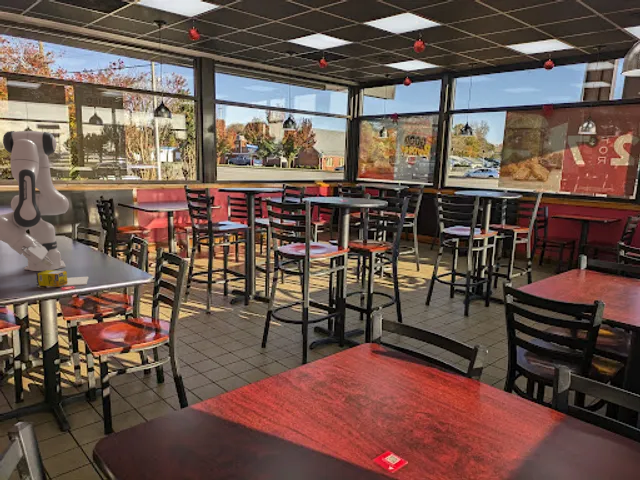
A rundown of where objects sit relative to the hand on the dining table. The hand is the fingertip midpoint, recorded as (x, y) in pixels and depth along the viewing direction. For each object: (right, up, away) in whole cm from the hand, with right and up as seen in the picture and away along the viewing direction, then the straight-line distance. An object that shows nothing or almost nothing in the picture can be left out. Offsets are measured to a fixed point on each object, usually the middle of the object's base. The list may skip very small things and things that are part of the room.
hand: (51, 264), depth 217 cm
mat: (+6, -8, +4) cm, 11 cm away
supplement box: (-4, -6, -2) cm, 7 cm away
